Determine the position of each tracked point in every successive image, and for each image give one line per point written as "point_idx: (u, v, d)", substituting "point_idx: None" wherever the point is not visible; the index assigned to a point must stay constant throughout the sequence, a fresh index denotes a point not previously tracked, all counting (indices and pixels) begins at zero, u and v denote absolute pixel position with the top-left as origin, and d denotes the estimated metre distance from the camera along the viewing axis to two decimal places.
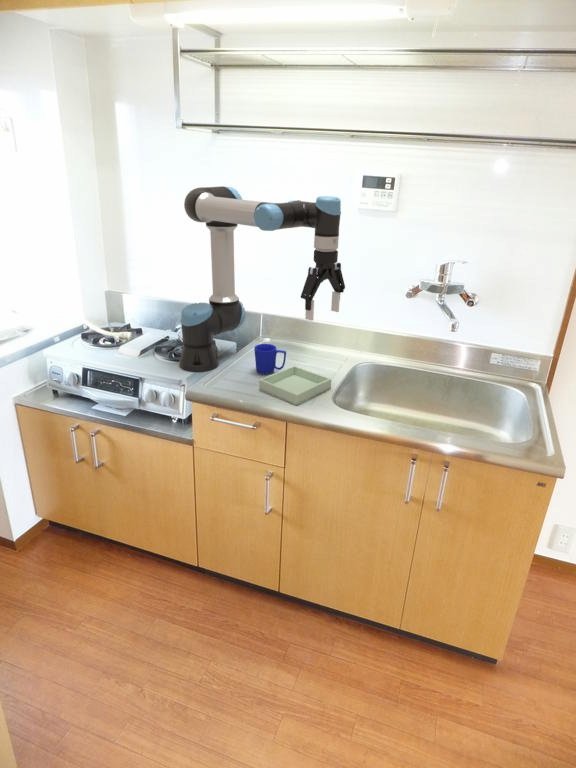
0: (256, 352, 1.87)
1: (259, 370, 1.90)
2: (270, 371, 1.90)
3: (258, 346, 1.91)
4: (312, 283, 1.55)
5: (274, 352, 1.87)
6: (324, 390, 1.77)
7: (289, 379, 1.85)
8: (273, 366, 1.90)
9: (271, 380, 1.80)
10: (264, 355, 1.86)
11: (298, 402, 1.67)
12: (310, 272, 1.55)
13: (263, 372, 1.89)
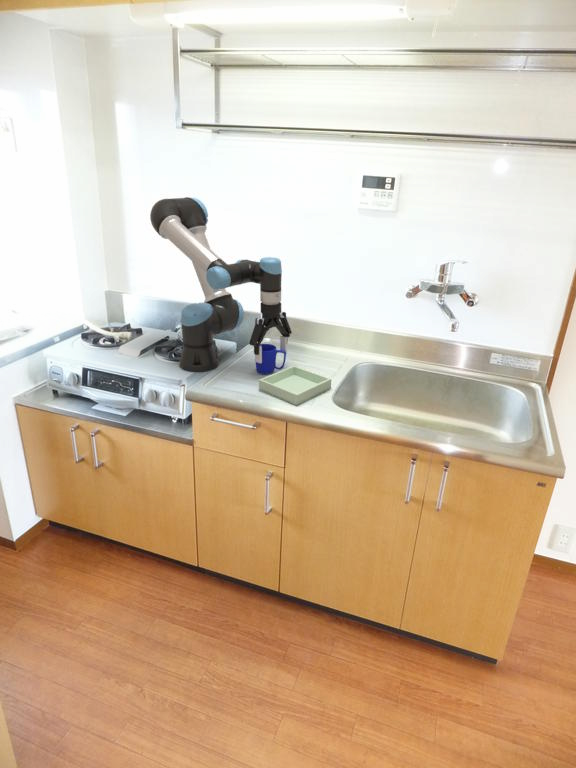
0: None
1: (259, 370, 1.90)
2: (270, 371, 1.90)
3: None
4: (258, 332, 1.79)
5: (274, 352, 1.87)
6: (324, 390, 1.77)
7: (289, 379, 1.85)
8: (273, 366, 1.90)
9: (271, 380, 1.80)
10: (264, 355, 1.86)
11: (298, 402, 1.67)
12: (257, 322, 1.79)
13: (263, 372, 1.89)
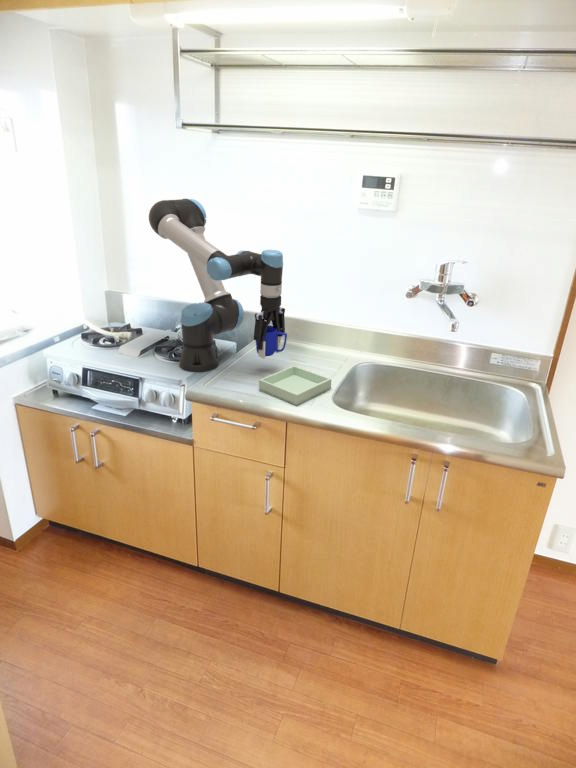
0: None
1: None
2: (270, 353, 1.88)
3: None
4: (260, 327, 1.80)
5: (275, 334, 1.85)
6: (324, 390, 1.77)
7: (289, 379, 1.85)
8: (273, 348, 1.88)
9: (271, 380, 1.80)
10: None
11: (298, 402, 1.67)
12: (257, 318, 1.79)
13: None
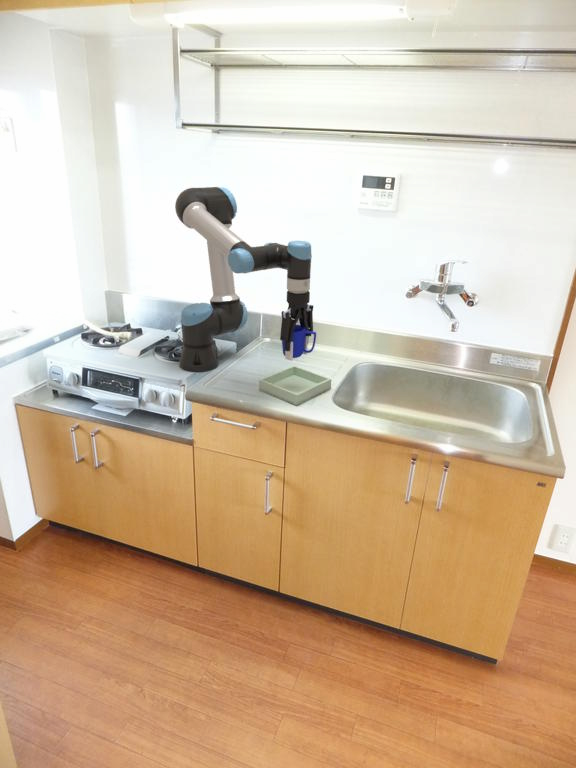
0: None
1: None
2: (298, 354, 1.71)
3: None
4: (288, 326, 1.64)
5: (303, 333, 1.69)
6: (324, 390, 1.77)
7: (289, 379, 1.85)
8: (302, 349, 1.72)
9: (271, 380, 1.80)
10: None
11: (298, 402, 1.67)
12: (283, 316, 1.63)
13: None
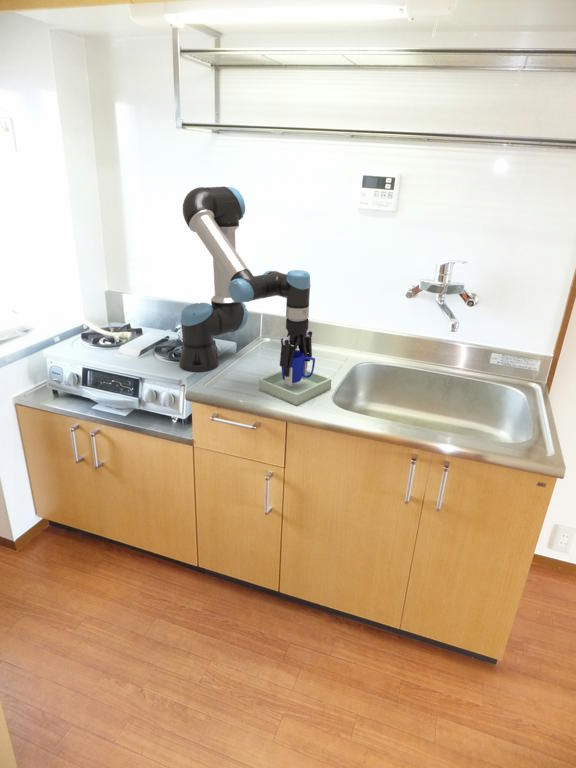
0: None
1: None
2: (297, 379, 1.75)
3: None
4: (287, 353, 1.67)
5: (302, 359, 1.73)
6: (324, 390, 1.77)
7: None
8: (301, 374, 1.75)
9: (271, 380, 1.80)
10: None
11: (298, 402, 1.67)
12: (283, 343, 1.67)
13: None
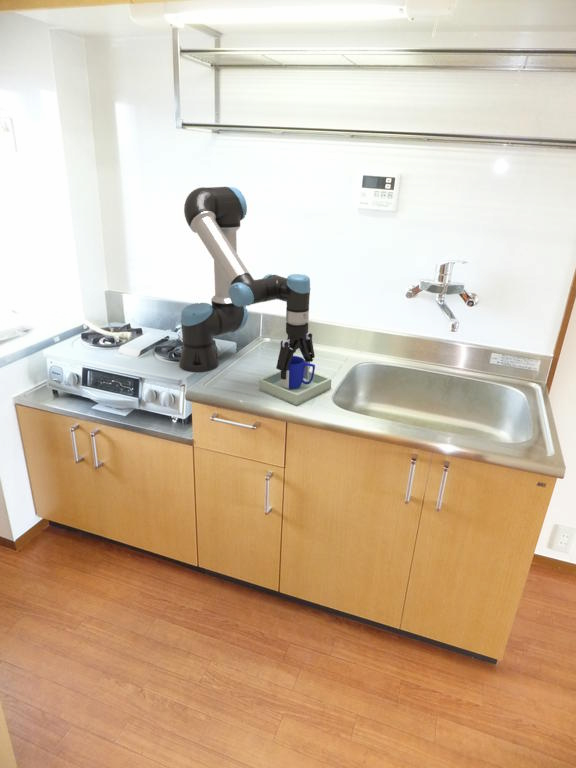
0: None
1: None
2: (297, 385, 1.76)
3: None
4: (285, 356, 1.67)
5: (302, 365, 1.74)
6: (324, 390, 1.77)
7: None
8: (300, 380, 1.77)
9: (271, 380, 1.80)
10: (291, 368, 1.73)
11: (298, 402, 1.67)
12: (282, 346, 1.67)
13: (290, 386, 1.76)
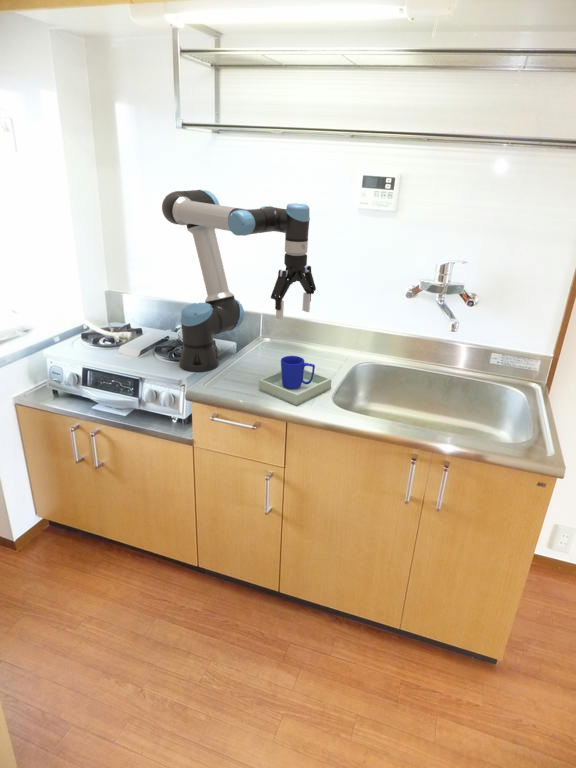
0: (282, 365, 1.74)
1: (285, 384, 1.76)
2: (297, 385, 1.76)
3: (285, 358, 1.78)
4: (281, 285, 1.65)
5: (302, 365, 1.74)
6: (324, 390, 1.77)
7: None
8: (300, 380, 1.77)
9: (271, 380, 1.80)
10: (291, 368, 1.73)
11: (298, 402, 1.67)
12: (280, 274, 1.65)
13: (289, 386, 1.76)
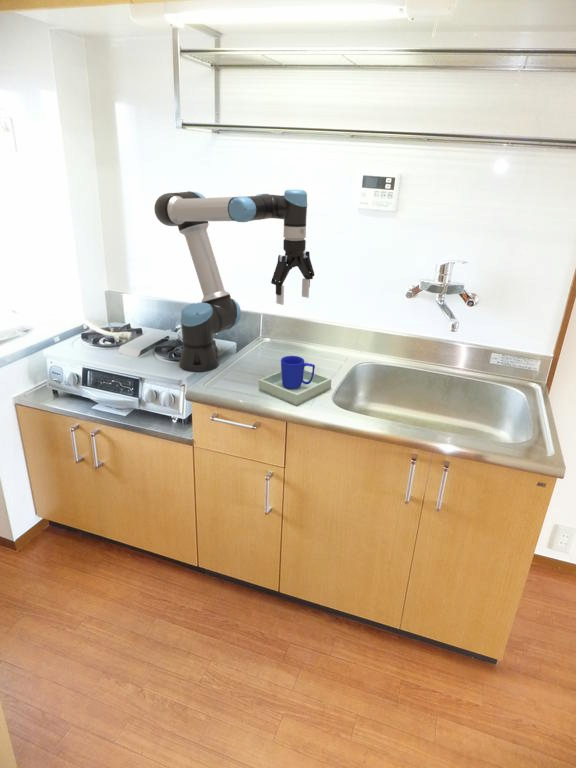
0: (282, 365, 1.74)
1: (285, 384, 1.76)
2: (297, 385, 1.76)
3: (285, 358, 1.78)
4: (281, 270, 1.68)
5: (302, 365, 1.74)
6: (324, 390, 1.77)
7: None
8: (300, 380, 1.77)
9: (271, 380, 1.80)
10: (291, 368, 1.73)
11: (298, 402, 1.67)
12: (279, 259, 1.68)
13: (289, 386, 1.76)
